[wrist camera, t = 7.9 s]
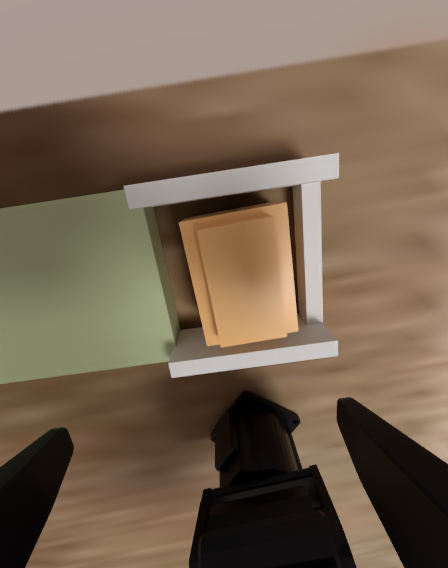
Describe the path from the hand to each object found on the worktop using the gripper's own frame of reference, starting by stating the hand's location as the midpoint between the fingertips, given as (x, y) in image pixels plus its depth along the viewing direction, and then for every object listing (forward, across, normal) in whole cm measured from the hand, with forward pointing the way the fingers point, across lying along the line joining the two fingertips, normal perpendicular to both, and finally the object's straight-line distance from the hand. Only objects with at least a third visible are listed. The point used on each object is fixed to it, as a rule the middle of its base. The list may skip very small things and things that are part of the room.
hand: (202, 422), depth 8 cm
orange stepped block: (+12, -2, -2) cm, 13 cm away
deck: (+12, +6, -2) cm, 14 cm away
